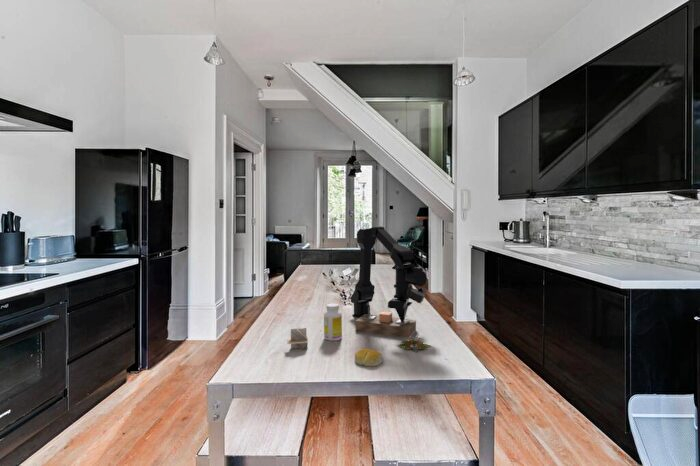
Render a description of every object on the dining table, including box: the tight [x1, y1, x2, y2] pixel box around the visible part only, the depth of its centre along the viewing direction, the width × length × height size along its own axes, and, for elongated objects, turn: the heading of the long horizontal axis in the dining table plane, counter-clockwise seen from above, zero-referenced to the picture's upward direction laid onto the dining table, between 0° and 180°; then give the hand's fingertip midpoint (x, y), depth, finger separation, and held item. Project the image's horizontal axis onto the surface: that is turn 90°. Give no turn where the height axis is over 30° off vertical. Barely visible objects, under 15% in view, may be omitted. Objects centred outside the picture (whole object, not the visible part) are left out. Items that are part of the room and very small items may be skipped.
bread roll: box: [354, 348, 384, 368], centre depth 125 cm, size 8×9×4 cm
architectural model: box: [287, 327, 309, 350], centre depth 135 cm, size 3×7×8 cm, turn 100°
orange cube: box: [378, 311, 393, 323], centre depth 155 cm, size 4×4×4 cm
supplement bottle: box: [323, 303, 343, 342], centre depth 146 cm, size 7×7×13 cm
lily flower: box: [396, 333, 432, 353], centre depth 138 cm, size 12×12×5 cm
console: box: [355, 314, 417, 339], centre depth 155 cm, size 22×10×4 cm, turn 65°
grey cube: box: [363, 314, 376, 321], centre depth 158 cm, size 4×4×4 cm
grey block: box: [396, 319, 410, 325], centre depth 152 cm, size 4×4×4 cm
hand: (402, 321), depth 152 cm, fingers closed, pressing on grey block
